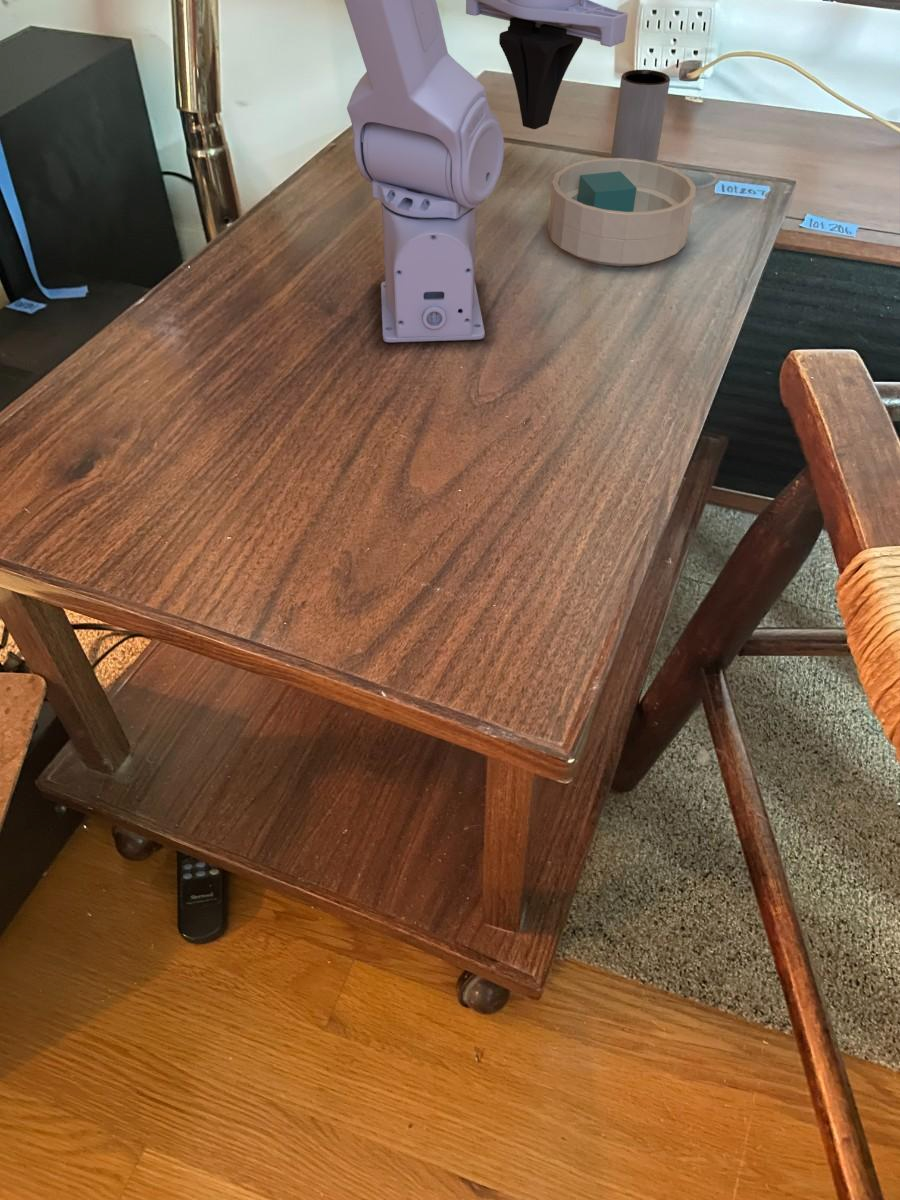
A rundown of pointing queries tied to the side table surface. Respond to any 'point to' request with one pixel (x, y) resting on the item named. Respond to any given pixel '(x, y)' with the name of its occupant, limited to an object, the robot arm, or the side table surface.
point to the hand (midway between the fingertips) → (535, 124)
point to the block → (607, 191)
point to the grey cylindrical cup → (640, 115)
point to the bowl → (623, 214)
